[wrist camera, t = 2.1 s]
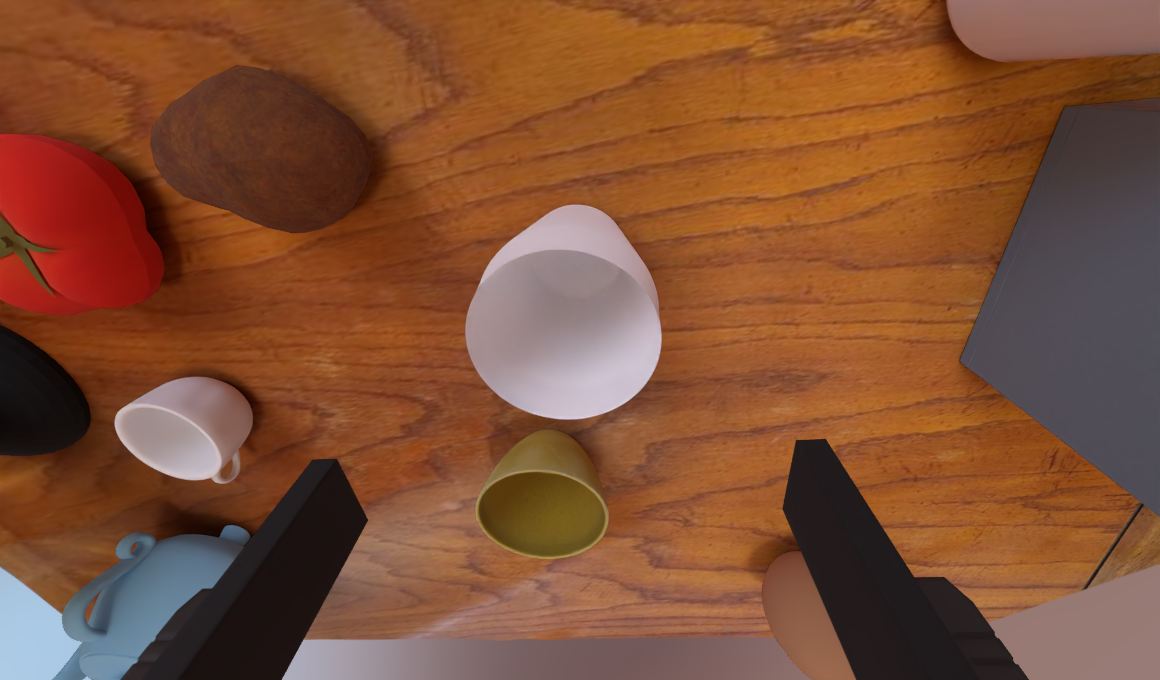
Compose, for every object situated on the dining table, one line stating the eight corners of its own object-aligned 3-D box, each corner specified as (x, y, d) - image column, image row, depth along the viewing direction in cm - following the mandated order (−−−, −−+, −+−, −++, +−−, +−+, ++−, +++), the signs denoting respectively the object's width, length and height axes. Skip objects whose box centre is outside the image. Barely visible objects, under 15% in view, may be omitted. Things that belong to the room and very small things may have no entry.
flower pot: (594, 397, 36) (592, 462, 30) (617, 481, 41) (620, 552, 34) (479, 415, 37) (455, 480, 31) (515, 494, 42) (500, 564, 36)
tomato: (148, 139, 27) (29, 153, 22) (204, 297, 33) (121, 341, 27) (-11, 118, 27) (-173, 126, 21) (73, 280, 33) (-38, 321, 27)
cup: (627, 322, 32) (638, 435, 22) (505, 300, 32) (457, 405, 21) (659, 199, 28) (692, 267, 17) (518, 171, 27) (465, 225, 17)
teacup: (155, 367, 36) (90, 408, 32) (237, 358, 35) (182, 399, 31) (222, 454, 41) (173, 501, 37) (296, 448, 40) (255, 495, 36)
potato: (192, 81, 25) (52, 80, 19) (364, 53, 24) (278, 42, 18) (262, 225, 30) (167, 264, 23) (412, 207, 29) (356, 242, 22)
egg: (735, 549, 45) (771, 677, 35) (814, 520, 42) (877, 651, 32) (770, 588, 48) (812, 716, 38) (846, 563, 45) (912, 695, 35)
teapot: (326, 542, 48) (230, 698, 35) (283, 618, 56) (194, 764, 44) (168, 481, 44) (0, 632, 32) (148, 572, 52) (11, 718, 40)
